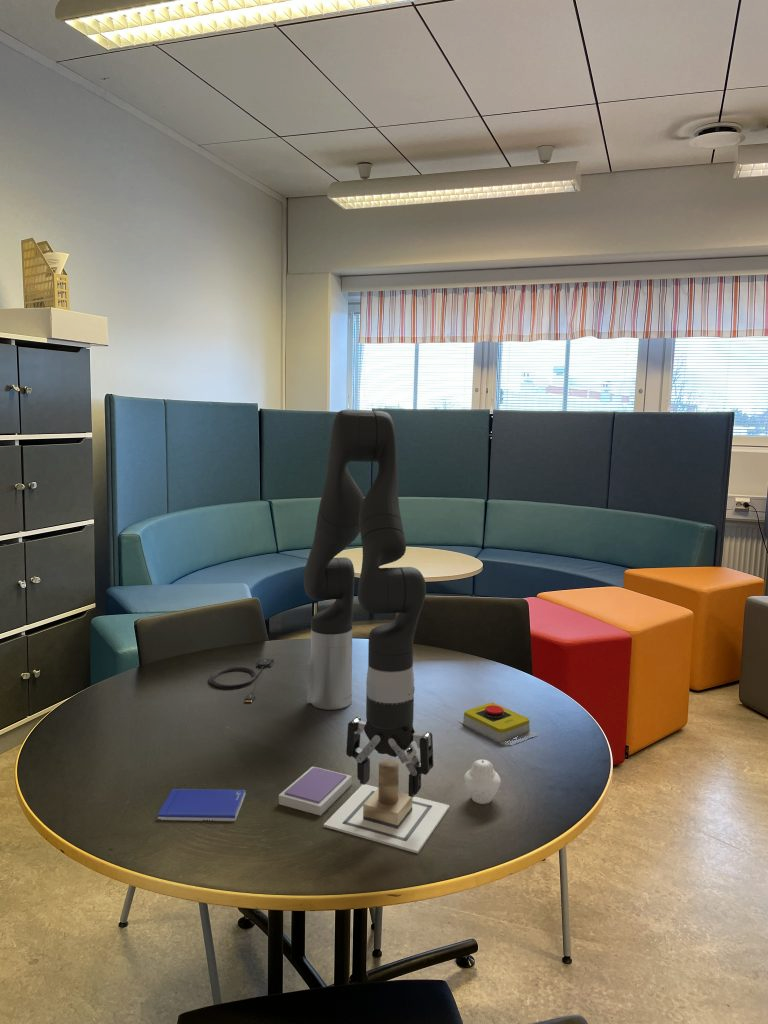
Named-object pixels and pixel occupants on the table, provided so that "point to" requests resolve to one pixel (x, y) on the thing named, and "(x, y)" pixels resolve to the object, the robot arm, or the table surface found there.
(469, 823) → the table surface
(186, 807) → the blue book
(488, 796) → the white rounded piece
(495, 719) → the emergency button
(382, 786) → the stamp
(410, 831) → the sheet
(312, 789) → the ink pad
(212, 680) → the cable
